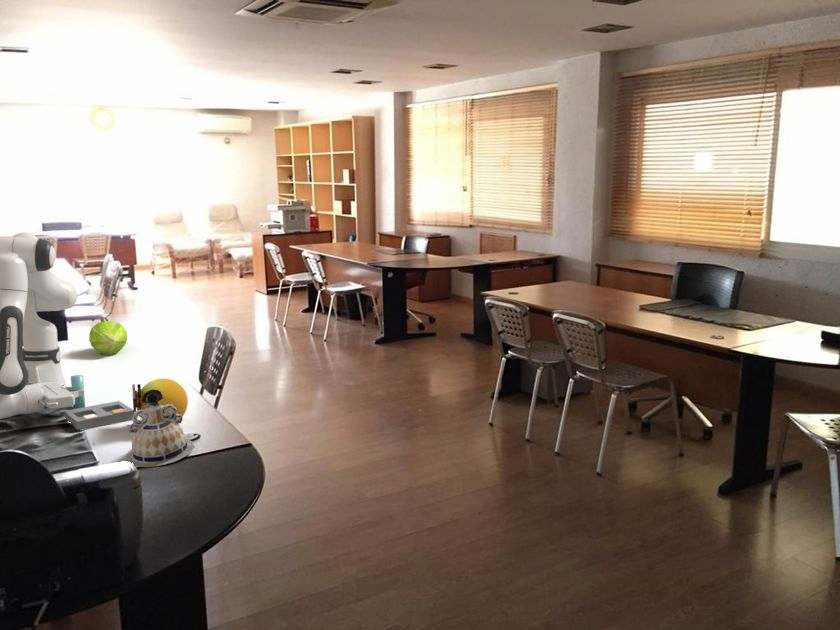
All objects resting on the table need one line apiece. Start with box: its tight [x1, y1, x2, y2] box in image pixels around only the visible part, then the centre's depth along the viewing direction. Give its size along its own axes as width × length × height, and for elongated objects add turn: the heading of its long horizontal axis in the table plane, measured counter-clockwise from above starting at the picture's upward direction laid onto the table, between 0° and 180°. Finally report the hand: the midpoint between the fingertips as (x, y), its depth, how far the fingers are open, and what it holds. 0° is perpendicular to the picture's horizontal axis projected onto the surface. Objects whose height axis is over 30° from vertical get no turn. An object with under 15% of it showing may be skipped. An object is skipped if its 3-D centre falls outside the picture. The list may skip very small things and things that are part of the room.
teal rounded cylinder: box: [70, 374, 86, 409], centre depth 222 cm, size 4×4×12 cm
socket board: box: [63, 400, 135, 431], centre depth 215 cm, size 13×17×3 cm
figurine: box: [124, 389, 195, 468], centre depth 187 cm, size 18×18×20 cm
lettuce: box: [88, 320, 128, 356], centre depth 301 cm, size 15×23×16 cm
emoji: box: [131, 377, 189, 420], centre depth 210 cm, size 16×16×15 cm
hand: (80, 390), depth 222 cm, fingers closed on teal rounded cylinder, 4 cm apart
